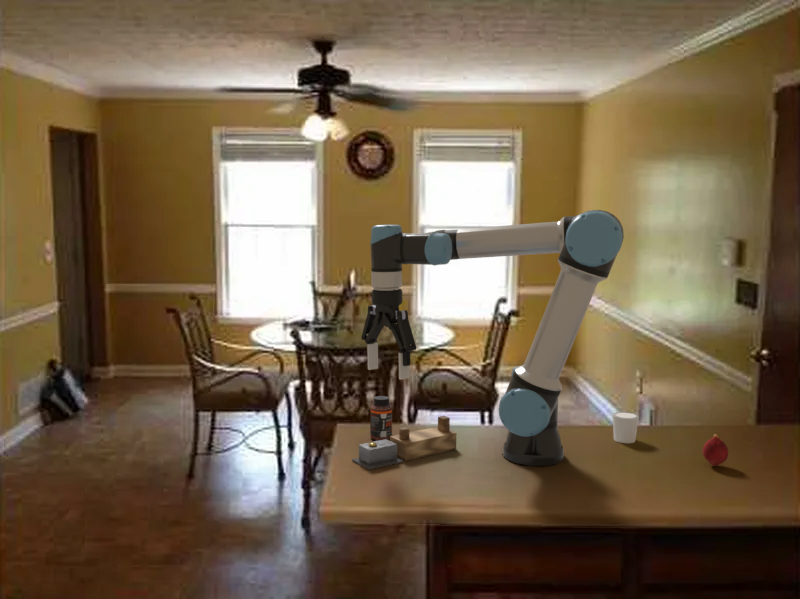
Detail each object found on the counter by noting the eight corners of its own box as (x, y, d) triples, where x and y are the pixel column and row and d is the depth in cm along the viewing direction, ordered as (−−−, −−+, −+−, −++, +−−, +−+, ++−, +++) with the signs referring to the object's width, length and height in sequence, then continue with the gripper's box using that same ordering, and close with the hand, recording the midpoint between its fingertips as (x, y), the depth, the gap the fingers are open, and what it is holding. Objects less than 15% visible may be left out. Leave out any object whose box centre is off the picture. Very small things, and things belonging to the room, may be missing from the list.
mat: (403, 462, 191) (403, 460, 191) (369, 470, 186) (369, 468, 186) (385, 453, 198) (385, 451, 198) (352, 460, 192) (352, 459, 192)
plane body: (440, 442, 207) (440, 413, 206) (456, 449, 201) (456, 419, 200) (390, 453, 198) (390, 423, 197) (405, 461, 192) (405, 429, 191)
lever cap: (396, 459, 192) (396, 442, 191) (369, 466, 188) (369, 448, 187) (385, 454, 196) (385, 437, 196) (358, 460, 192) (358, 442, 191)
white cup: (640, 444, 206) (642, 418, 205) (615, 443, 206) (616, 418, 205) (633, 436, 213) (634, 411, 212) (608, 436, 213) (609, 411, 212)
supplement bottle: (389, 442, 207) (389, 400, 206) (368, 440, 208) (367, 399, 207) (394, 435, 213) (394, 395, 212) (373, 433, 214) (373, 394, 213)
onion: (731, 466, 189) (733, 434, 188) (722, 472, 185) (724, 439, 184) (707, 460, 193) (709, 429, 192) (698, 466, 189) (699, 434, 188)
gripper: (430, 291, 180) (431, 380, 183) (371, 283, 200) (372, 363, 203) (404, 294, 176) (405, 385, 179) (346, 285, 196) (348, 367, 199)
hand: (388, 373), depth 191 cm, fingers open, 13 cm apart
